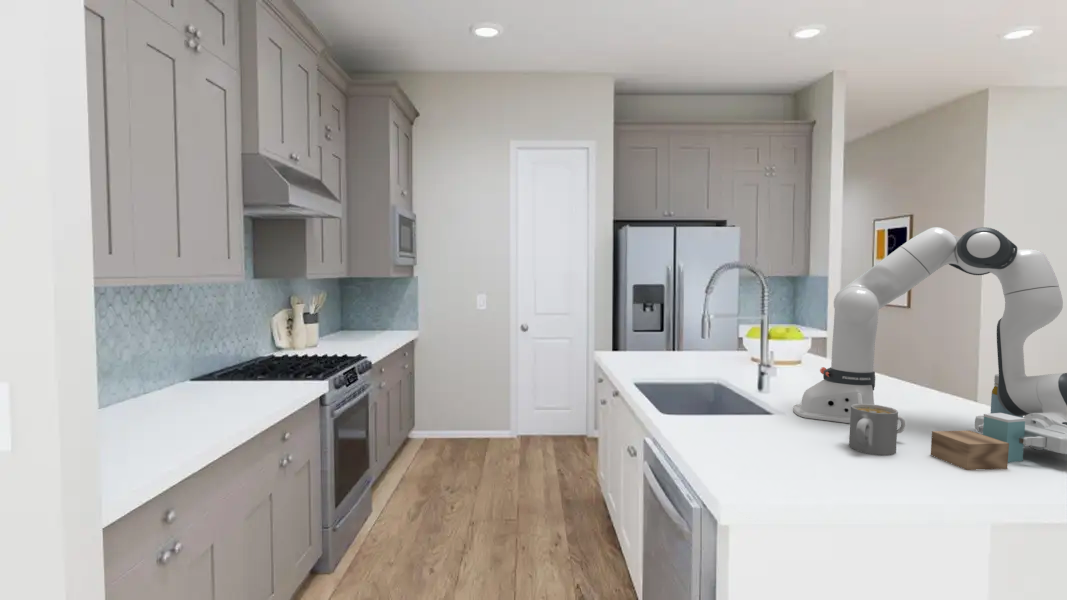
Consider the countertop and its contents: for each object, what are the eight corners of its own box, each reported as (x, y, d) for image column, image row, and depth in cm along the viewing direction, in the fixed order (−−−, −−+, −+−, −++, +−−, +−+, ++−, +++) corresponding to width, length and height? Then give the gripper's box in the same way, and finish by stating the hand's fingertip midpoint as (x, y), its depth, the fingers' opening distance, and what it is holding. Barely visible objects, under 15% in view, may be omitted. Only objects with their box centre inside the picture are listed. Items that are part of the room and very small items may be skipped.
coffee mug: (864, 440, 148) (866, 402, 148) (904, 451, 140) (906, 411, 139) (831, 447, 142) (833, 407, 141) (871, 459, 133) (873, 417, 133)
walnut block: (966, 471, 127) (968, 444, 127) (930, 456, 137) (931, 431, 137) (1007, 469, 129) (1009, 443, 128) (968, 455, 138) (969, 430, 138)
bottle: (1010, 426, 164) (1013, 374, 163) (1028, 433, 157) (1032, 379, 156) (983, 425, 165) (986, 373, 164) (1000, 432, 158) (1004, 378, 157)
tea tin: (1005, 462, 133) (1008, 420, 132) (981, 455, 138) (983, 414, 137) (1022, 460, 134) (1025, 418, 134) (998, 453, 139) (1000, 412, 139)
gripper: (998, 408, 149) (957, 410, 145) (1094, 430, 129) (1049, 434, 126) (997, 432, 149) (956, 435, 146) (1091, 457, 130) (1047, 462, 126)
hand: (1000, 435), depth 136 cm, fingers open, 8 cm apart
